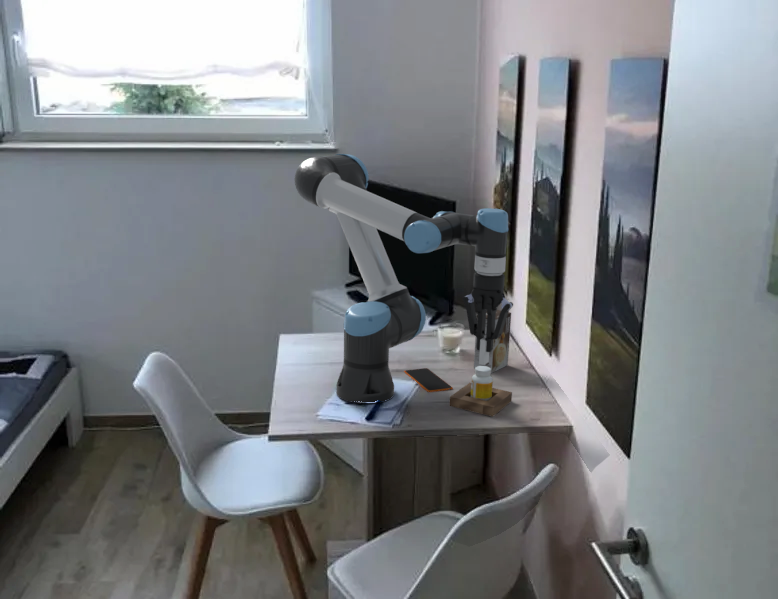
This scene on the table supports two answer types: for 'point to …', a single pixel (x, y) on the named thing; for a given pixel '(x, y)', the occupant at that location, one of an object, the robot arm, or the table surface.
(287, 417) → the table surface
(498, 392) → the holder block
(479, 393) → the supplement bottle
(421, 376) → the smartphone
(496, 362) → the coffee box
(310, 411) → the table surface
